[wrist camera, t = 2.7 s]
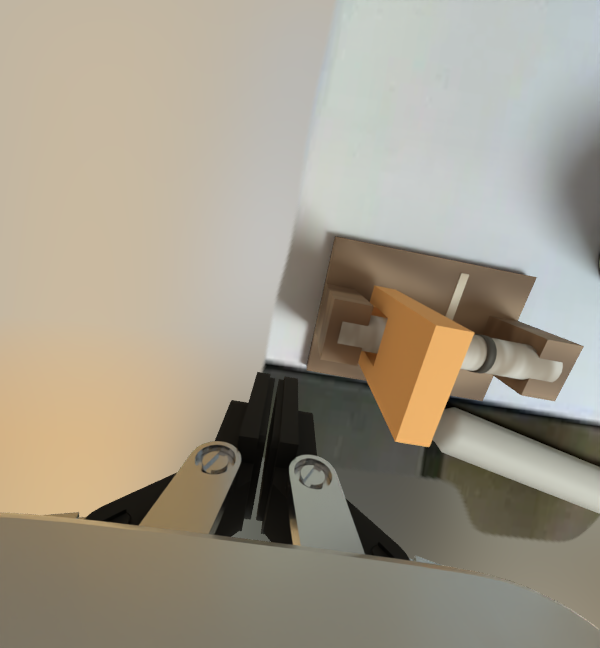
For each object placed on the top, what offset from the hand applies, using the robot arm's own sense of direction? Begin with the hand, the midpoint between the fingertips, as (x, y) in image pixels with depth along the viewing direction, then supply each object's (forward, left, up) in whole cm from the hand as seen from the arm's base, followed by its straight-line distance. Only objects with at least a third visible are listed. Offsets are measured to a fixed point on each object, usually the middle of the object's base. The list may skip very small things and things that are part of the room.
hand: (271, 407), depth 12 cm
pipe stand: (0, +13, -19) cm, 23 cm away
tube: (+13, +31, -19) cm, 38 cm away
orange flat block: (0, +8, -15) cm, 17 cm away
